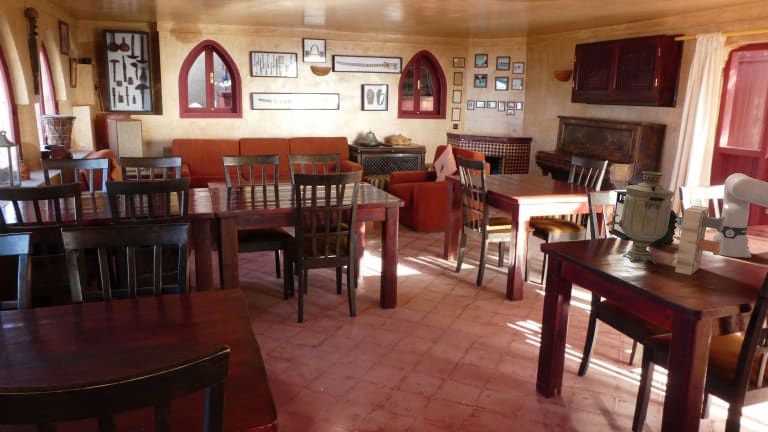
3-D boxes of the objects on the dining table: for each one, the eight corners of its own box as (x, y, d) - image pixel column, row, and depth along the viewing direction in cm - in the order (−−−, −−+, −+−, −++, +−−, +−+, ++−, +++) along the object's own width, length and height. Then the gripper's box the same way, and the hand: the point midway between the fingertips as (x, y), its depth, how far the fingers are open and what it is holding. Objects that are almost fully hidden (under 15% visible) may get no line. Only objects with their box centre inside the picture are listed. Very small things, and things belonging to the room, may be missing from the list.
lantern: (638, 233, 313) (646, 170, 306) (655, 240, 297) (664, 174, 290) (608, 232, 312) (616, 169, 305) (623, 239, 295) (632, 173, 288)
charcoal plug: (698, 226, 241) (700, 213, 240) (723, 229, 235) (725, 216, 234) (695, 227, 237) (697, 214, 236) (720, 231, 231) (722, 218, 230)
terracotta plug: (695, 248, 243) (697, 236, 242) (719, 252, 237) (721, 240, 236) (691, 250, 239) (693, 238, 238) (716, 255, 233) (718, 242, 232)
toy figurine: (659, 243, 298) (642, 246, 280) (665, 208, 295) (649, 209, 277) (678, 247, 291) (662, 250, 273) (685, 211, 289) (669, 212, 271)
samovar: (605, 247, 277) (615, 166, 269) (664, 255, 266) (676, 171, 258) (599, 261, 251) (610, 172, 243) (664, 271, 240) (678, 178, 232)
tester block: (684, 264, 252) (694, 205, 246) (699, 267, 248) (709, 207, 242) (675, 271, 240) (684, 209, 234) (690, 275, 236) (700, 211, 230)
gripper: (806, 227, 208) (761, 221, 217) (811, 220, 223) (769, 214, 232) (809, 210, 206) (764, 205, 215) (814, 204, 222) (772, 199, 231)
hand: (767, 209), depth 224 cm, fingers open, 6 cm apart
